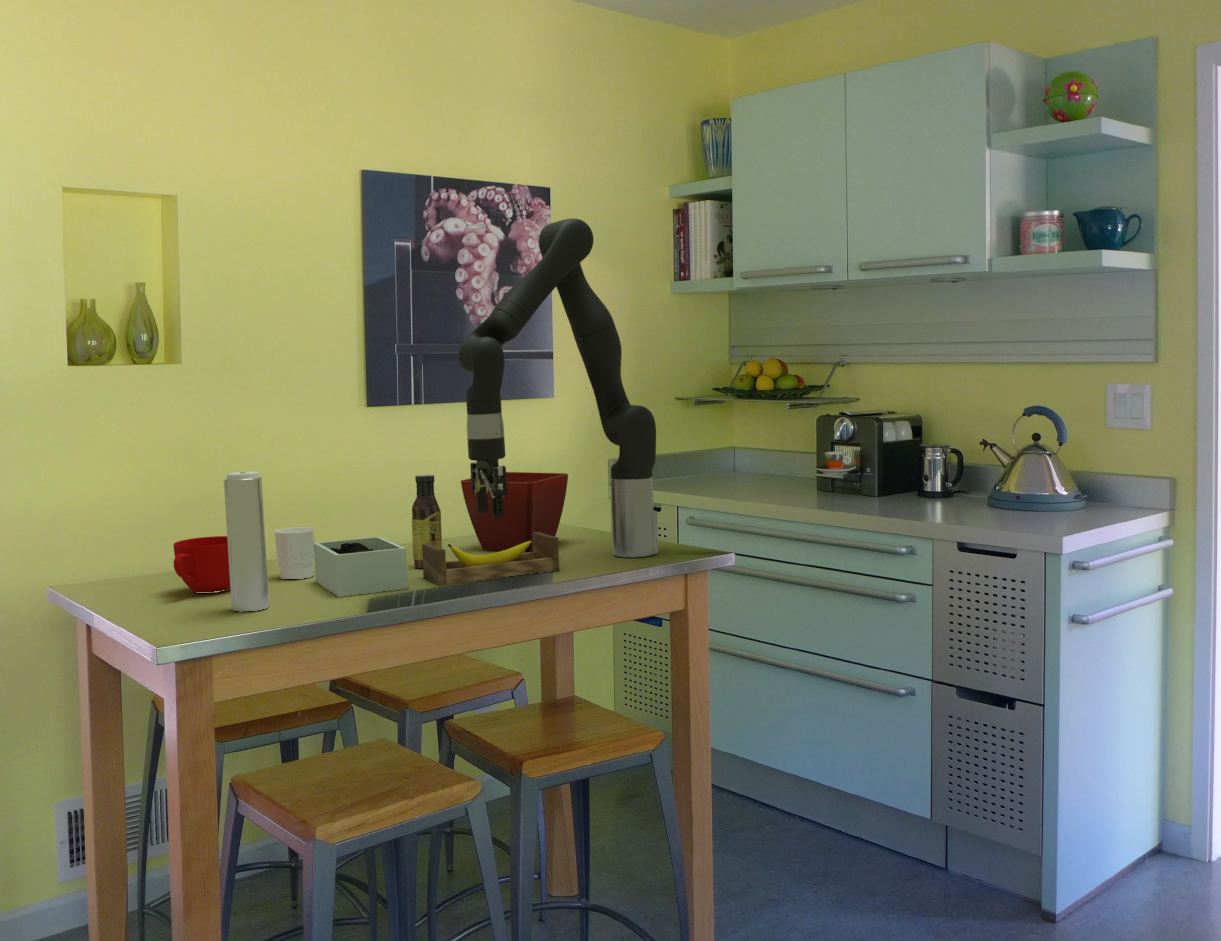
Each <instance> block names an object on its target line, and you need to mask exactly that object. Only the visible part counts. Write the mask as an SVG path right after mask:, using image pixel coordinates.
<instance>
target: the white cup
mask: <svg viewBox="0 0 1221 941" xmlns="http://www.w3.org/2000/svg"><path fill="white" fill-rule="evenodd" d="M314 531H315V530H314V528H313V527H309V526H308V527H304V526H303V527H301V526H300V527H297V526H296V527H286V528H280V529H277V530H274V538H275V539H274V540H275V550H276V558H277V566H278V569H279V570H278V571H279V579H280V578H283V579H300V580H304V578H307V579H310V578H313V577H314V564H315V557H314V543H315V541H314V540H315V539H314V538H315V535H314V534H315V532H314ZM312 576H313V577H312ZM283 579H282V580H283Z"/></svg>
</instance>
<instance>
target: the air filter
mask: <svg viewBox="0 0 1221 941" xmlns="http://www.w3.org/2000/svg"><path fill="white" fill-rule="evenodd" d="M262 480H263V477H262V476H261V474H260V472H259V471H237V472H229V473H226V478H224V479H223V488H224V489H223V490H224V492H223V493H224V504H225V505H224V506H225V519H226V520H225V522H226V536H227V540H228V556H229V571H230V602H231V611H232V610H233V611H232V612H234V611H256V612H259V611H258V610H261V611H263V610H262V609H265V610H267V609H269V608H270V597H269V582H268V581H269V580H268V579H269V578H268V565H267V547H266V532H265V513H264V512H265V511H264V499H263V498H264V496H263V481H262ZM268 607H269V608H268ZM266 608H267V609H266Z"/></svg>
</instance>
